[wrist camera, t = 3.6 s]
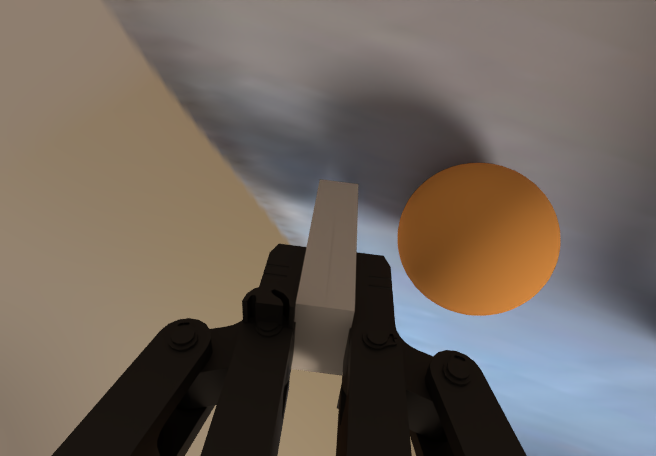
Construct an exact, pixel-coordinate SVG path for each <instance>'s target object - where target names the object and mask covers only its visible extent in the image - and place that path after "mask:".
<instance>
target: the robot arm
mask: <svg viewBox="0 0 656 456" xmlns="http://www.w3.org/2000/svg"><path fill="white" fill-rule="evenodd" d="M357 214H358V184H353V183H345V182H337V181H329V180H321V179H320V181H319V186H318V191H317V197H316V202H315V207H314V212H313V217H312V222H311V227H310V233H309V238H308V243H307V247H301V246H293V245H285V244H278V245H277V246H276V247H275V248H274V249H273V250H272V251H271V252H270V254H269V257H268V260H267V264H266V267H265V270H264V274H263V276H262V279H261V283H260V286H259V287H258V288H255V289H253V290H251V291H250V292H248V293H247V294H246V296H245V297H244V299H243V301H242V306H243V320H242V321H240V322H239V323H236V324H234V325H231V326H227V327H221V328H214V329H209V328H208V327H207V325H206V324H205V323H203V322H201V321H200V320H196V319H190V318H187V319H180V320H177V321H174V322H172V323H170V324H168V325H167V326H165V327H164V328H163V329H162V330H161V331H160V332H159V333H158V334H157V335H156V336H155V338H154V339H153V340H152V341H151V342H150V343H149V345H148V346H147V347H146V348H145V349H144V350H143V351H142V352H141V354H140V355H139V356H138V357H137V358H136V359H135V360H134V362H133V363H132V364H131V365H130V366H129V367H128V368H127V370H126V371H125V372H124V373H123V374H122V375H121V377H120V378H119V379H118V380H117V381H116V382H115V384H114V385H113V386H112V387H111V388H110V389H109V390H108V391H107V393H106V394H105V395H104V396H103V397H102V398H101V400H100V401H99V402H98V403H97V404H96V405H95V406H94V408H93V409H92V410H91V411H90V412H89V413H88V414H87V416H86V417H85V418H84V419H83V420H82V422H80V424H79V425H78V426H77V427H76V428H75V429H74V431H73V432H72V433H71V434H70V435H69V436H68V437H67V439H66V440H65V441H64V442H63V443H62V444H61V446H60V447H59V448H58V449H57V450H56V451H55V452H54V453H53V455H52V456H185V454H186V453H187V451H188V449H189V448H190V446H191V444H192V443H193V441H194V439H195V438H196V436H197V434H198V433H199V431H200V429H201V428H202V426H203V424H204V422H205V421H206V419H207V418H208V416H209V415H210V413H211V411H212V410H213V408H214V406H215V405H217V406H216V409H215V412H214V415H213V418H212V421H211V425H210V428H209V431H208V434H207V437H206V440H205V443H204V446H203V450H202V453H201V456H277V454H278V448H279V443H280V436H281V431H282V425H283V419H284V413H285V407H286V401H287V396H288V390H289V378H290V372H291V369H296V370H304V371H311V372H320V373H328V374H335V375H342V385H341V390H340V395H339V400H338V405H337V408H338V409H339V414H338V431H337V448H336V456H412V455H411V444H410V437H411V440H412V444H413V447H414V450H415V453H416V456H526V454H525V452H524V450H523V448H522V446H521V444H520V442H519V440H518V439H517V437H516V435H515V433H514V431H513V429H512V427H511V425H510V424H509V422H508V420H507V418H506V416H505V414H504V412H503V410H502V409H501V407H500V405H499V403H498V401H497V399H496V397H495V395H494V393H493V392H492V390H491V388H490V386H489V384H488V382H487V380H486V378H485V377H484V375H483V373H482V371H481V369H480V368H479V367H478V365H477V364H476V363H475V362H474V361H473V360H472V359H470V358H469V357H468V356H467V355H465V354H462V353H460V352H457V351H450V350H445V351H441V352H438V353H437V354H436V355H435V356H431V355H428V354H426V353H423V352H421V351H418V350H416V349H415V348H413V347H411V346H409V345H408V344H407V343H406V342H404V341H403V339H402V338H401V337H400V336H399V334H398V332H397V330H396V326H395V317H394V304H393V291H392V281H391V267H390V265H389V264H388V262H387V260H386V259H385V257H384V256H381V255H373V254H365V253H357V252H356V249H357ZM342 372H343V373H342Z"/></svg>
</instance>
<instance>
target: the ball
mask: <svg viewBox="0 0 656 456" xmlns="http://www.w3.org/2000/svg"><path fill="white" fill-rule="evenodd" d="M398 250H399V255H400V259H401V262H402V265H403V267H404V269H405V271H406V273H407V275H408V277H409V278H410V280H411V281H412V282H413V284H414V285H415V287H416V288H417V289H418V290H419V291H420V292H421V293H422V294H423V295H425V296H426V297H427V298H428V299H430V300H431V301H433V302H434V303H436V304H438V305H439V306H441V307H443V308H445V309H448V310H451V311H454V312H457V313H461V314H466V315H480V316H482V315H493V314H499V313H503V312H506V311H509V310H511V309H514V308H516V307H518V306H520V305H522V304H524V303H525V302H527V301H528V300H530V299H531V298H532V297H534V296H535V295H536V294H537V293H538V292H539V291H540V290H541V289H542V288H543V286H544V285H545V284H546V283H547V281H548V280H549V278H550V276H551V275H552V273H553V271H554V268H555V266H556V263H557V261H558V256H559V251H560V228H559V223H558V220H557V216H556V214H555V211H554V209H553V207H552V205H551V203H550V202H549V200H548V199H547V197H546V196H545V194H544V193H543V192H542V191H541V190H540V189H539V188H538V187H537V186H536V185H535V184H534V183H533V182H532V181H530V180H529V179H528V178H526V177H525V176H523V175H522V174H520V173H518V172H516V171H514V170H511V169H509V168H506V167H503V166H500V165H495V164H489V163H467V164H461V165H457V166H453V167H450V168H447V169H445V170H443V171H441V172H439V173H437V174H435V175H433V176H432V177H430V178H429V179H428V180H426V181H425V182H424V183H423V184H422V185H421V186H420V187H419V188H418V189H417V190H416V191H415V192H414V193H413V194H412V196H411V197H410V199H409V200H408V202H407V204H406V206H405V208H404V210H403V212H402V215H401V218H400V222H399V227H398Z"/></svg>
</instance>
